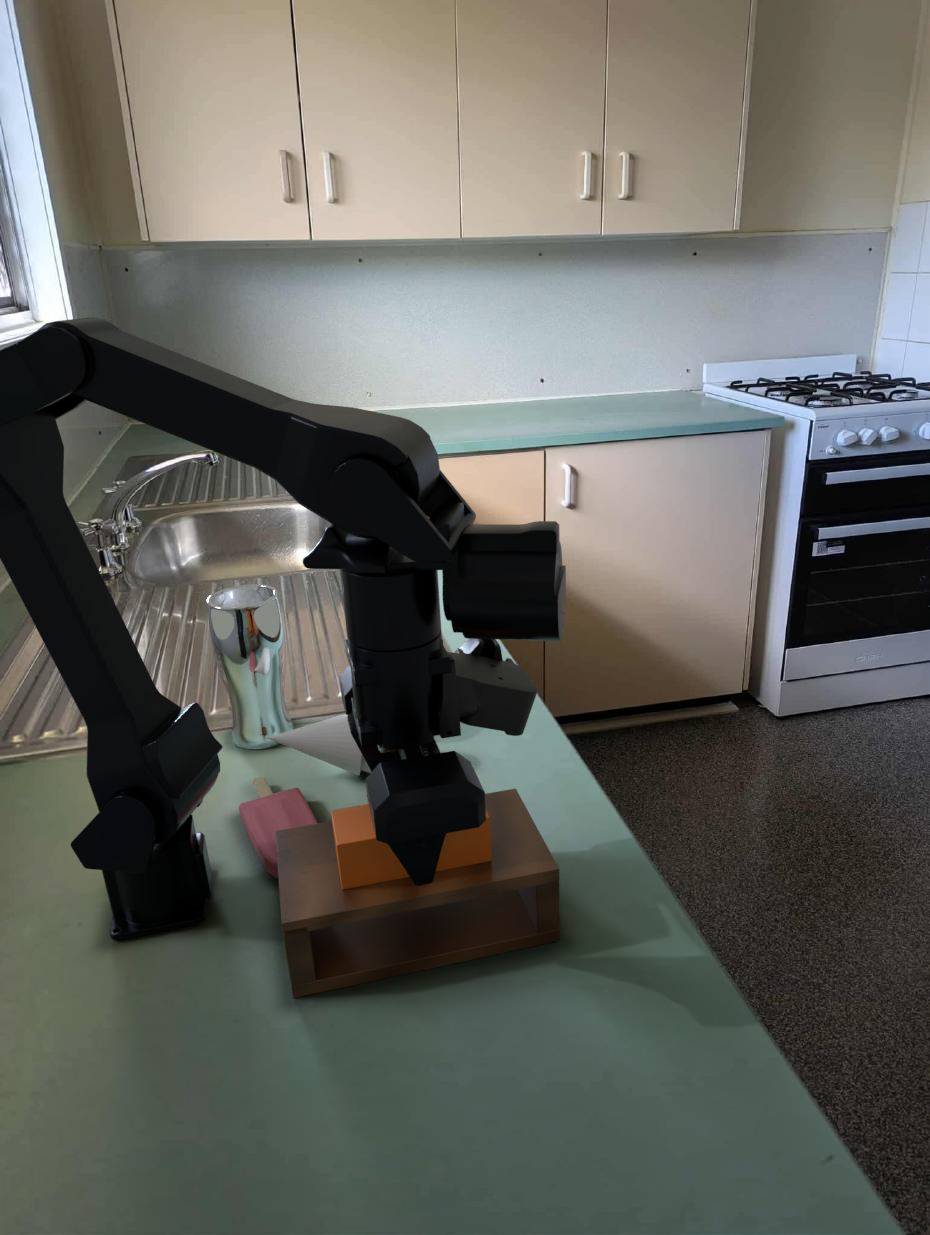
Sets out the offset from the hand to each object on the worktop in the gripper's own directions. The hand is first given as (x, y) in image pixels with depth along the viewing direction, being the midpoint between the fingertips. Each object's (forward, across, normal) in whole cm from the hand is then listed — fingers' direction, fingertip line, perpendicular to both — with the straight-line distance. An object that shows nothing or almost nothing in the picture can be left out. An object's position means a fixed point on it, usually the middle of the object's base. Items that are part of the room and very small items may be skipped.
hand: (412, 846), depth 59 cm
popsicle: (+7, +15, +9) cm, 19 cm away
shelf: (+7, +1, 0) cm, 7 cm away
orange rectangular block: (+1, 0, 0) cm, 1 cm away
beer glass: (+7, +32, +10) cm, 34 cm away
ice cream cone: (+7, +22, +2) cm, 23 cm away
